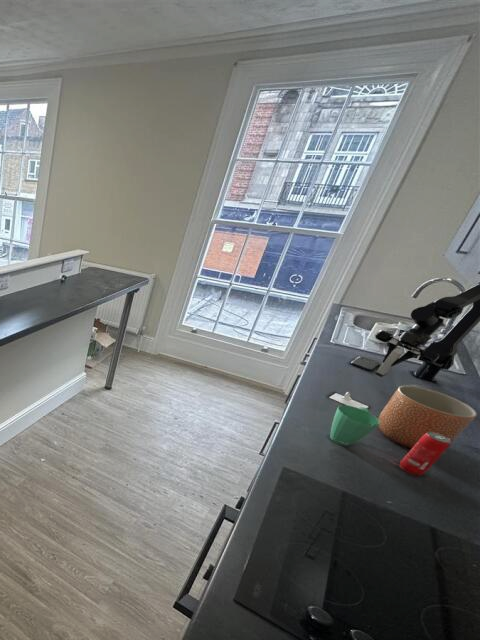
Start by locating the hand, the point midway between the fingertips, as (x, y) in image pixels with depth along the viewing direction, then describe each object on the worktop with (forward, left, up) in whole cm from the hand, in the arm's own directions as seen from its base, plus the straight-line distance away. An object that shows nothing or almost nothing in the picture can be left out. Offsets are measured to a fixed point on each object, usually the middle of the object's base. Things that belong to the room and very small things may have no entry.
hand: (387, 364), depth 156 cm
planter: (+45, +1, -9) cm, 46 cm away
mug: (+58, -16, -9) cm, 61 cm away
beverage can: (+64, -1, -9) cm, 65 cm away
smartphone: (-22, 0, -9) cm, 23 cm away
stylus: (-4, +1, -6) cm, 7 cm away
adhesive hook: (+27, -11, -9) cm, 31 cm away
